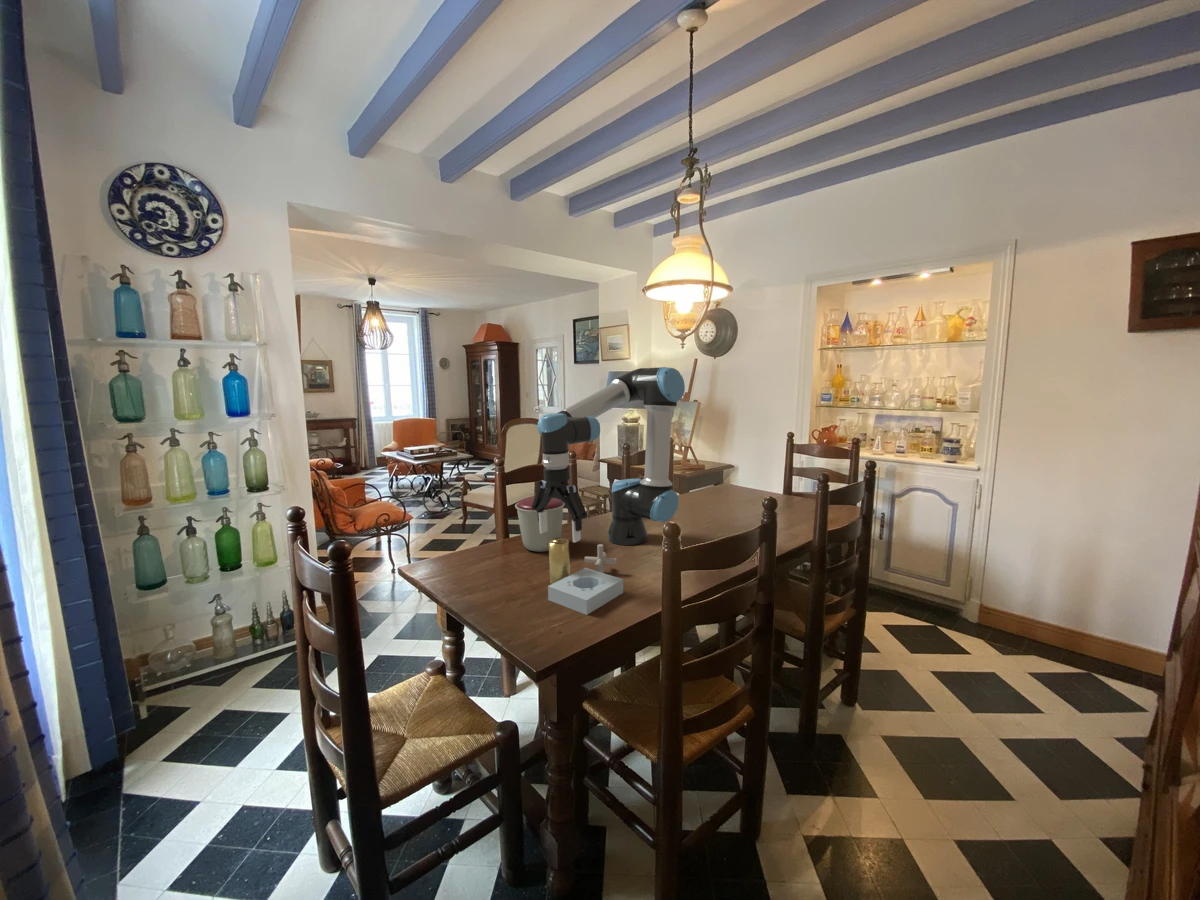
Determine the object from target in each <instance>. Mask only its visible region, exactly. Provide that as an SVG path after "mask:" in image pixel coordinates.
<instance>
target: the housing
mask: <svg viewBox="0 0 1200 900" xmlns="http://www.w3.org/2000/svg"><path fill="white" fill-rule="evenodd" d="M622 594H624V579H623V578H620V577H617V576H613V575H611V574H607V573H605V572H604V573H601V572H598V570H596V569H591V568H588V567H584V568H582V569H580V570H577V571H576V572H574V573H572V574H570V576H568V577H566V578H563V579H561V580H559V581H557V582H555V583H553V584H551V583H550V584H549V585H547V599H548V601H549V602H553V603H555V604H558V605H560V606H562V607H565V608H568V609H571V610H573V611H576V612H578V613H581V614H583V615H586V616H587V615H589V614H591V613H593V612H594V611H596V610H598V609H599V608H600V607H603V606H604V605H606V604H607V603H610V601H612V600H613V599H616V598H617V597H619V596H621V595H622Z"/></svg>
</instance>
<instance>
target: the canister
mask: <svg viewBox="0 0 1200 900" xmlns="http://www.w3.org/2000/svg"><path fill="white" fill-rule="evenodd" d="M535 495H536V493H534V496H531V497H525V498H523V499H521V500H519V501H518V502H517V503H515V505H514V507H515V509H516V510H517V516H518V524H519V529H520V534H521V539H522V540H521V541H522V544H523V546H524V548H526V549H527V550H528V551H531V552H538V553H540V552H542V553H543V552H549V541H550V540H552V539H553V538H556V537H562V529H563V517H564V516H563V515H564V506H566V505H565V504H564V502H562V501H561V500H560V499H557V498H552V499H551V500H550V502H549V503H548V505H547V506H546V508H545V509H546V510H543V511H547V527H548V531H547V532H544V533H542V534H541V533H540V530H539V522H538V514H537V511H536V510H535V509H532V505H533V501H534V498H535ZM543 498H544V496H543Z"/></svg>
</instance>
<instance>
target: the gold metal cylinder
mask: <svg viewBox="0 0 1200 900" xmlns="http://www.w3.org/2000/svg"><path fill="white" fill-rule="evenodd" d="M548 557H549V558H548V559H549V581H550V582H549V583H550V585H551V584H553V583H555V582H557V581H559V580H561V579H563V578H566V577H568V576H570V575H571V574H570V573H571V570H570V569H571V566H570V540H569V539H567V538H566V537H562V536H561V537H556V538H553V539H552V540H550V541H549V551H548Z"/></svg>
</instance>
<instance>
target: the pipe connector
mask: <svg viewBox="0 0 1200 900" xmlns="http://www.w3.org/2000/svg"><path fill="white" fill-rule="evenodd" d="M596 546H597V550H596V551H597V556H584V560H583V562H584V563H588V564H590V563H591V564H594V570H596V571H598V572H601V573H605V570H604V569H605V566H604V564H607V565H617V560H618V558H617V557H616V558H615V557H614V558H613V557H607V553H606V552H605V551H604V544H601V543H600V544H597V545H596Z"/></svg>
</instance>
